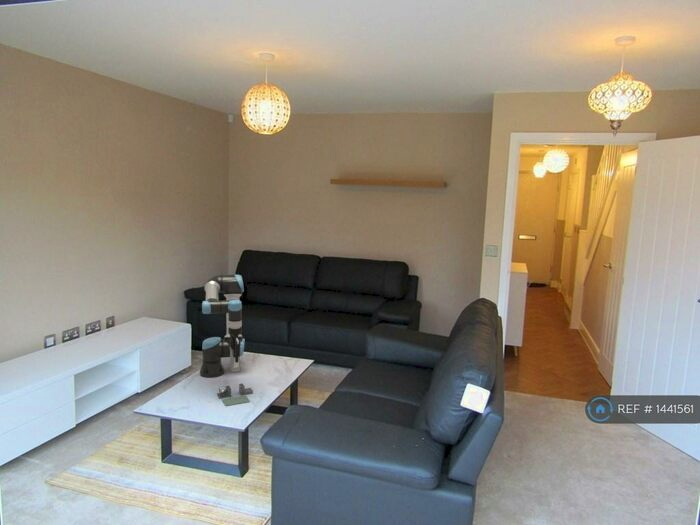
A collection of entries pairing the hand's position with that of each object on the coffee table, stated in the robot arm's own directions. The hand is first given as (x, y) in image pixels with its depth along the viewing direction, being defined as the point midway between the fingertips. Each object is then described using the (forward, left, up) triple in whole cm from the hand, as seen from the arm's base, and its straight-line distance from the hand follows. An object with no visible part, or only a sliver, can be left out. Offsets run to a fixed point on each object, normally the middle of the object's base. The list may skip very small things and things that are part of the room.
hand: (235, 365), depth 287 cm
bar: (0, 0, -3) cm, 3 cm away
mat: (+9, -2, -18) cm, 20 cm away
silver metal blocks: (0, 0, -18) cm, 18 cm away
